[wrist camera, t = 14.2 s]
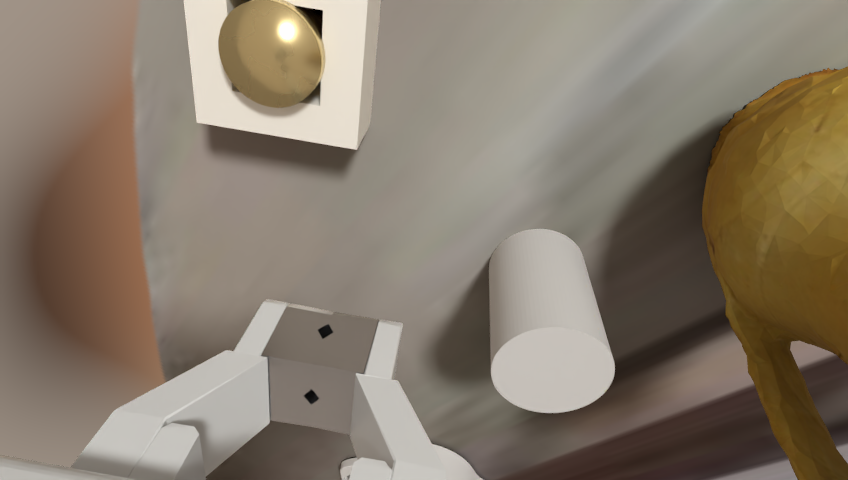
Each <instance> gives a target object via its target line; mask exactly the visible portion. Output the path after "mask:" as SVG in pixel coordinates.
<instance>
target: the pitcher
mask: <svg viewBox="0 0 848 480" xmlns="http://www.w3.org/2000/svg"><path fill="white" fill-rule="evenodd" d="M720 134H721V135H720V136H719V141H717V142H716V147H714V148H713V149H712V159H711V161H710V166H709V167H708V170H707V171H708V174H707V179H706V185H705V191H704V197H703V205H702V227H703V230H704V233H705V236H706V240H707V248H708V252H709V255H710V259H711V262H712V265H713V269H714V271H715V273H716V275H717V277H718V280H719V281H720V284H721V287H722V290H723V293H724V296H725V299H726V314H725V316H726V317H727V318H728V319H729V321H730V325H731V328H732V329H733V331H734V332H735V334H736V336H737V337H738V339H739V340H740V342H741V343H742V347H743V349H744V351H745V353H746V355H747V363H748V373H749V375H750V376H751V378H752V380H753V382H754V384H755V387H756V389H757V392H758V394H759V397H760V400H761V403H762V405H763V407H764V409H765V412H766V414H767V416H768V418H769V421H770V424H771V428H772V431H773V433H774V435H775V437H776V439H777V440H778V442H779V444H780V445H781V447H782V449H783V450H784V452H785V453H786V455H787V456H788V458H789V461H790V464H791V466H792V468H793V470H794V473H795V475H796V477H797V479H798V480H848V464H847V462H846V461H845V460H844V458H843V457H842V456H841V454H840V453H839V452H838V450H837V449H836V447H835V444H834V442H833V440H832V438H831V436H830V434H829V432H828V430H827V428H826V426H825V424H824V422H823V420H822V418H821V417H820V415H819V413H818V411H817V409H816V408H815V405H814V403H813V400H812V397H811V396H810V394H809V392H808V390H807V386H806V383H805V380H804V378H803V376H802V374H801V373H800V371H799V369H798V366H797V364H796V362H795V360H794V357H793V355H792V353H791V351H790V345H791V342H792V341H798V340H800V341H802V342H805V343H808V344H812V345H815V346H817V347H820V348H823V349H825V350H828V351H830V352H832V353H834V354H836V355H837V356H838V357H839V358H840V359H842V360H843V361H844V362H845V363H846V364H848V67H846V68H843V69H841V70H837V69H834V70H830V69H829V68H828V69H827V70H825V69H823V71H821V72H814V73H809V75H806V74H805V75H804V76H802V77H800V78H793V79H789V80H785V81H783V82H781V83H780V84H779V85H778V86H775V87H774V89H770V90H769V91H768V92H766V93H765V94H764V95H763V96H762V97H759V98H758V100H753V102H751V103H749V104H747V106H746V108H745V109H743V110H741V111H738V112H736V113H735V114H734V118H733V119H730V121H729V123H728V124H726V125H725V126H724V127H723V128H722V131H720Z"/></svg>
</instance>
